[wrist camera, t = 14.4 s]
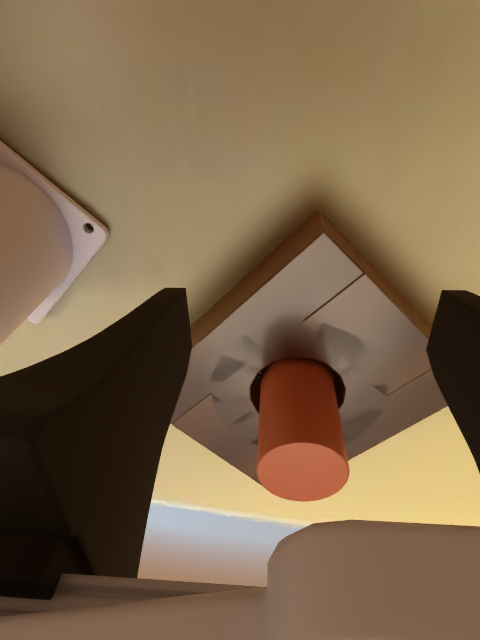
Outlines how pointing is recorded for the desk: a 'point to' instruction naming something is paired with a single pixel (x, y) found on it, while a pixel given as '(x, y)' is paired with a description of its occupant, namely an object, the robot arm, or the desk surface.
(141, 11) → the desk surface
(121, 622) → the robot arm
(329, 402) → the peg
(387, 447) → the desk surface
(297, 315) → the block with round hole
